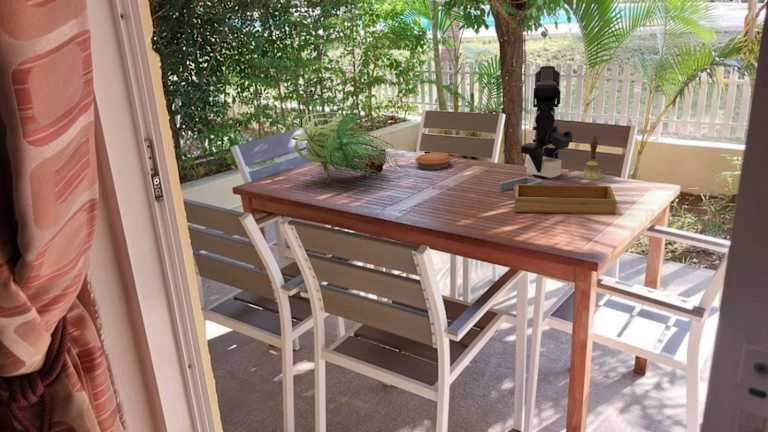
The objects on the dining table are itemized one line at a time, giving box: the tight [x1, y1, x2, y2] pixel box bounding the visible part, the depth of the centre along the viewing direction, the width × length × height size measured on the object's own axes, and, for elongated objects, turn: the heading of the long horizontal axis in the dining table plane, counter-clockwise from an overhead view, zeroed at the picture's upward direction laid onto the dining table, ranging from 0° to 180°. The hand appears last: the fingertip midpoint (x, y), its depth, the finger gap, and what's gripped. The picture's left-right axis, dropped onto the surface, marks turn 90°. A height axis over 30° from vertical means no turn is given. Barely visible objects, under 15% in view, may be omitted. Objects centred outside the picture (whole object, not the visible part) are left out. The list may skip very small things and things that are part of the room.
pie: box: [414, 152, 453, 171], centre depth 254 cm, size 15×16×5 cm
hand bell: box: [579, 134, 604, 181], centre depth 225 cm, size 8×8×16 cm
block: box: [526, 157, 562, 179], centre depth 198 cm, size 10×5×5 cm, turn 38°
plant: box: [291, 109, 415, 187], centre depth 237 cm, size 35×35×40 cm
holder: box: [498, 175, 544, 197], centre depth 217 cm, size 13×9×3 cm, turn 121°
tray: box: [514, 184, 617, 216], centre depth 197 cm, size 31×15×6 cm, turn 77°
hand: (543, 170), depth 199 cm, fingers closed on block, 5 cm apart
